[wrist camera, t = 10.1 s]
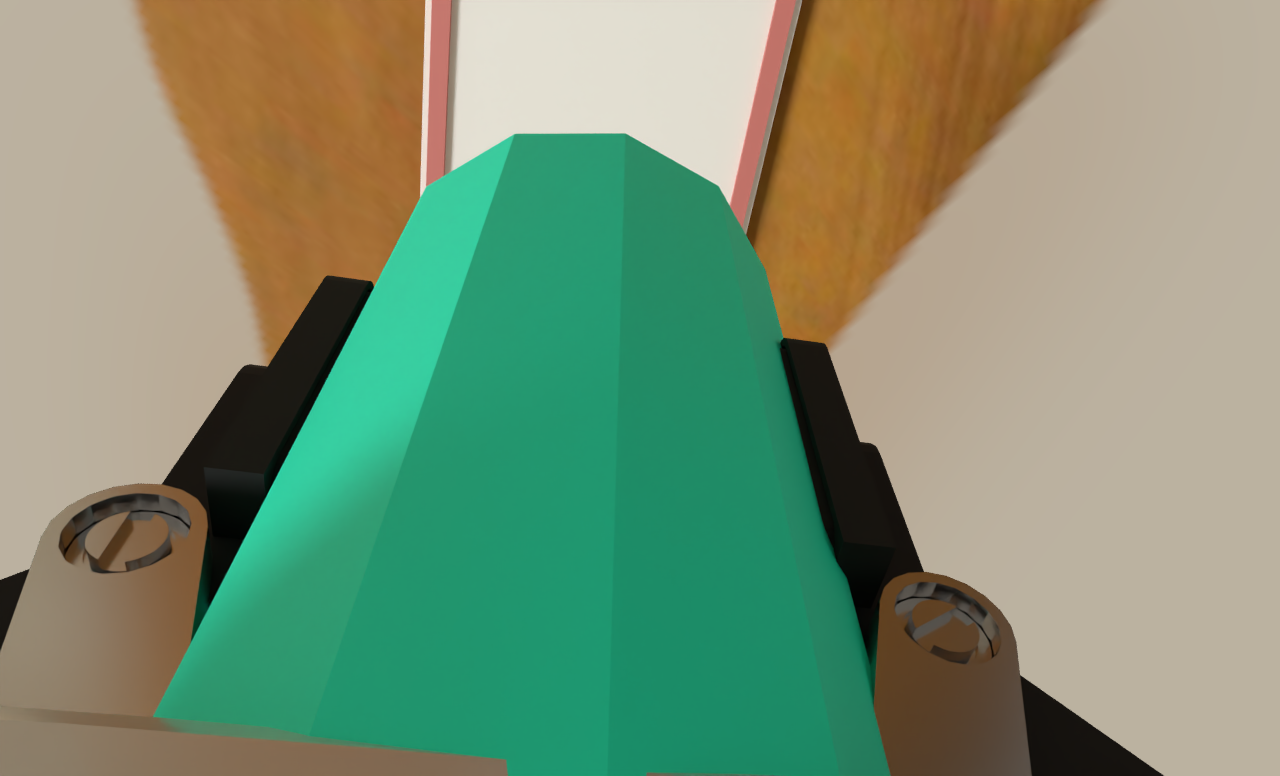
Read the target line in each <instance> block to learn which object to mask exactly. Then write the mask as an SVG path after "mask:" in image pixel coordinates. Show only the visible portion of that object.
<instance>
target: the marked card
mask: <svg viewBox="0 0 1280 776" xmlns="http://www.w3.org/2000/svg"><path fill="white" fill-rule="evenodd" d="M801 3H802V0H426V3H425V39H424V76H423V113H422V150H421V186H420V198H421V196H422V194H423V192H424V190H425V188H426V186H428V185H430V184H431V183H433V182H435V181H436V180H438V179H440V178H441V177H443V176H445V175H446V174H448V173H450V172H451V171H453V170H455V169H456V168H458V167H460V166H461V165H463V164H465V163H467V162H468V161H470V160H472V159H473V158H475V157H477V156H478V155H480V154H482V153H483V152H485V151H487V150H488V149H490V148H492V147H493V146H495V145H497V144H498V143H500V142H502V141H503V140H505V139H507V138H508V137H510V136H512V135H513V134H568V133H626V134H628V135H629V136H631V137H633V138H635V139H636V140H638V141H640V142H642V143H643V144H645V145H647V146H649V147H651V148H652V149H654V150H656V151H658V152H659V153H661V154H663V155H665V156H666V157H668V158H670V159H672V160H674V161H675V162H677V163H679V164H681V165H682V166H684V167H686V168H688V169H689V170H691V171H693V172H695V173H697V174H698V175H700V176H702V177H704V178H705V179H707V180H709V181H711V182H712V183H714V184H716V185H718V186H719V187H720V189H721V191H722V193H723V195H724V196H725V198H726V200H727V202H728V204H729V205H730V207H731V209H732V211H733V213H734V214H735V216H736V218H737V220H738V222H739V223H740V225H741V227H742V229H743V231H744V232H745V234H746V233H747V228H748V224H749V220H750V216H751V212H752V208H753V203H754V199H755V195H756V191H757V187H758V183H759V178H760V174H761V170H762V166H763V162H764V157H765V153H766V149H767V145H768V141H769V137H770V132H771V128H772V124H773V120H774V116H775V112H776V107H777V103H778V99H779V95H780V91H781V87H782V82H783V78H784V74H785V70H786V66H787V62H788V57H789V53H790V49H791V45H792V41H793V37H794V32H795V28H796V24H797V20H798V16H799V12H800V7H801Z"/></svg>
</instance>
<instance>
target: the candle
mask: <svg viewBox="0 0 1280 776" xmlns="http://www.w3.org/2000/svg"><path fill="white" fill-rule="evenodd" d="M782 339H783V335H782V331H781V328H780V324H779V320H778V316H777V312H776V309H775V305H774V301H773V297H772V294H771V290H770V286H769V282H768V278H767V275H766V271H765V268H764V267H763V265H762V263H761V261H760V259H759V258H758V256H757V254H756V252H755V250H754V249H753V247H752V245H751V243H750V241H749V240H748V238H747V236H746V234H745V232H744V231H743V229H742V227H741V225H740V223H739V222H738V220H737V218H736V216H735V214H734V213H733V211H732V209H731V207H730V205H729V204H728V202H727V200H726V198H725V196H724V195H723V193H722V191H721V189H720V187H719V186H718V185H716V184H714V183H712V182H711V181H709V180H707V179H705V178H704V177H702V176H700V175H698V174H697V173H695V172H693V171H691V170H689V169H688V168H686V167H684V166H682V165H681V164H679V163H677V162H675V161H674V160H672V159H670V158H668V157H666V156H665V155H663V154H661V153H659V152H658V151H656V150H654V149H652V148H651V147H649V146H647V145H645V144H643V143H642V142H640V141H638V140H636V139H635V138H633V137H631V136H629V135H628V134H626V133H568V134H513V135H512V136H510V137H508V138H507V139H505V140H503V141H502V142H500V143H498V144H497V145H495V146H493V147H492V148H490V149H488V150H487V151H485V152H483V153H482V154H480V155H478V156H477V157H475V158H473V159H472V160H470V161H468V162H467V163H465V164H463V165H461V166H460V167H458V168H456V169H455V170H453V171H451V172H450V173H448V174H446V175H445V176H443V177H441V178H440V179H438V180H436V181H435V182H433V183H431V184H430V185H428V186H426V188H425V190H424V192H423V194H422V196H421V198H420V200H419V201H418V203H417V205H416V207H415V209H414V211H413V213H412V215H411V217H410V219H409V221H408V223H407V225H406V227H405V229H404V231H403V233H402V234H401V236H400V238H399V240H398V242H397V244H396V246H395V248H394V250H393V252H392V254H391V256H390V258H389V260H388V262H387V264H386V265H385V267H384V269H383V271H382V273H381V275H380V277H379V279H378V281H377V283H376V285H375V287H374V289H373V291H372V293H371V295H370V297H369V298H368V300H367V302H366V304H365V306H364V308H363V310H362V312H361V314H360V316H359V318H358V320H357V322H356V324H355V326H354V328H353V329H352V331H351V333H350V335H349V337H348V339H347V341H346V343H345V345H344V347H343V349H342V351H341V353H340V355H339V357H338V359H337V361H336V362H335V364H334V366H333V368H332V370H331V372H330V374H329V376H328V378H327V380H326V382H325V384H324V386H323V388H322V390H321V392H320V394H319V395H318V397H317V399H316V401H315V403H314V405H313V407H312V409H311V411H310V413H309V415H308V417H307V419H306V421H305V423H304V425H303V426H302V428H301V430H300V432H299V434H298V436H297V438H296V440H295V442H294V444H293V446H292V448H291V450H290V452H289V454H288V456H287V458H286V459H285V461H284V463H283V465H282V467H281V469H280V471H279V473H278V475H277V477H276V479H275V481H274V483H273V485H272V487H271V489H270V490H269V492H268V494H267V496H266V498H265V500H264V502H263V504H262V506H261V508H260V510H259V512H258V514H257V516H256V518H255V520H254V522H253V523H252V525H251V527H250V529H249V531H248V533H247V535H246V537H245V539H244V541H243V543H242V545H241V547H240V549H239V551H238V553H237V554H236V556H235V558H234V560H233V562H232V564H231V566H230V568H229V570H228V572H227V574H226V576H225V578H224V580H223V582H222V584H221V586H220V587H219V589H218V591H217V593H216V595H215V597H214V599H213V601H212V603H211V605H210V607H209V609H208V611H207V613H206V615H205V617H204V618H203V620H202V622H201V624H200V626H199V628H198V630H197V632H196V634H195V636H194V638H193V640H192V642H191V644H190V646H189V648H188V650H187V651H186V653H185V655H184V657H183V659H182V661H181V663H180V665H179V667H178V669H177V671H176V673H175V675H174V677H173V679H172V681H171V682H170V684H169V686H168V688H167V690H166V692H165V694H164V696H163V698H162V700H161V702H160V704H159V706H158V708H157V710H156V712H155V714H154V715H153V717H159V718H170V719H182V720H194V721H205V722H217V723H228V724H240V725H251V726H263V727H270V728H275V729H280V730H284V731H289V732H294V733H298V734H303V735H307V736H312V737H320V738H328V739H337V740H345V741H353V742H361V743H370V744H378V745H387V746H395V747H403V748H412V749H420V750H428V751H436V752H445V753H453V754H462V755H470V756H479V757H487V758H496V759H505V760H506V763H507V773H508V776H647V773H706V774H752V775H775V776H891V775H890V771H889V767H888V763H887V760H886V756H885V752H884V748H883V744H882V740H881V736H880V732H879V728H878V724H877V720H876V716H875V712H874V707H873V695H872V683H871V671H870V663H869V660H868V656H867V652H866V648H865V645H864V641H863V637H862V633H861V629H860V626H859V622H858V618H857V614H856V611H855V607H854V603H853V599H852V595H851V592H850V588H849V584H848V580H847V578H846V576H845V574H844V573H843V571H842V570H841V568H840V566H839V565H838V563H837V562H836V558H835V554H834V549H833V547H832V545H831V543H830V540H829V538H828V536H827V533H826V531H825V528H824V525H823V522H822V518H821V514H820V510H819V506H818V502H817V498H816V494H815V490H814V486H813V482H812V478H811V474H810V470H809V466H808V462H807V458H806V454H805V450H804V446H803V442H802V437H801V433H800V429H799V425H798V421H797V417H796V413H795V409H794V405H793V401H792V397H791V393H790V389H789V385H788V381H787V377H786V373H785V369H784V365H783V361H782V357H781V353H780V348H782V347H781V344H780V342H781V340H782Z"/></svg>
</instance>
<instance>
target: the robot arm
mask: <svg viewBox="0 0 1280 776" xmlns="http://www.w3.org/2000/svg"><path fill="white" fill-rule="evenodd" d="M373 289H374V286H373V283H372V281H365V280H358V279H351V278H343V277H336V276H326V277H325V278H324V279H323V281H322V283H321V284H320V286H319V287H318V289H317V290H316V292H315V294H314V295H313V297H312V298H311V300H310V301H309V303H308V305H307V306H306V308H305V309H304V311H303V312H302V314H301V315H300V317H299V319H298V320H297V322H296V323H295V325H294V326H293V328H292V330H291V331H290V333H289V334H288V336H287V337H286V339H285V341H284V342H283V344H282V345H281V347H280V348H279V350H278V351H277V353H276V355H275V356H274V358H273V359H272V361H271V362H270V364H269V366H268V367H266V366H258V365H246V366H244V367H243V368H242V369H241V370H240V371H239V372H238V373H237V375H236V376H235V378H234V379H233V381H232V382H231V384H230V385H229V387H228V388H227V390H226V391H225V393H224V394H223V395H222V397H221V398H220V400H219V401H218V403H217V404H216V406H215V407H214V409H213V410H212V412H211V413H210V414H209V416H208V417H207V419H206V420H205V422H204V423H203V425H202V426H201V428H200V429H199V431H198V432H197V433H196V435H195V436H194V438H193V439H192V441H191V442H190V444H189V445H188V447H187V448H186V450H185V451H184V452H183V454H182V455H181V457H180V458H179V460H178V461H177V463H176V464H175V466H174V467H173V469H172V470H171V472H170V473H169V474H168V476H167V478H166V479H165V480H164V482H163V483H162V484H161V485H160V484H132V485H124V486H118V487H112V488H109V489H106V490H103V491H99V492H96V493H93V494H90V495H88V496H86V497H84V498H82V499H80V500H78V501H77V502H75V503H73V504H71V505H69V506H67V507H66V508H65V509H64V510H63V511H62V512H60V513H59V514H58V515H57V516H56V517H55V518H53V519H52V520H51V522H50V523H49V525H48V527H47V528H46V530H45V531H44V533H43V535H42V536H41V539H40V541H39V544H38V547H37V550H36V553H35V555H34V558H33V561H32V564H31V567H30V569H28V570H25V571H23V572H20V573H17V574H15V575H12V576H9V577H7V578H4V579H2V580H0V776H508V773H507V763H506V760H505V759H496V758H487V757H479V756H470V755H462V754H453V753H445V752H436V751H428V750H420V749H412V748H403V747H395V746H387V745H378V744H370V743H361V742H353V741H345V740H337V739H328V738H320V737H312V736H307V735H303V734H298V733H294V732H289V731H284V730H280V729H275V728H270V727H263V726H251V725H240V724H228V723H217V722H205V721H194V720H182V719H170V718H159V717H153V715H154V714H155V712H156V710H157V708H158V706H159V704H160V702H161V700H162V698H163V696H164V694H165V692H166V690H167V688H168V686H169V684H170V682H171V681H172V679H173V677H174V675H175V673H176V671H177V669H178V667H179V665H180V663H181V661H182V659H183V657H184V655H185V653H186V651H187V650H188V648H189V646H190V644H191V642H192V640H193V638H194V636H195V634H196V632H197V630H198V628H199V626H200V624H201V622H202V620H203V618H204V617H205V615H206V613H207V611H208V609H209V607H210V605H211V603H212V601H213V599H214V597H215V595H216V593H217V591H218V589H219V587H220V586H221V584H222V582H223V580H224V578H225V576H226V574H227V572H228V570H229V568H230V566H231V564H232V562H233V560H234V558H235V556H236V554H237V553H238V551H239V549H240V547H241V545H242V543H243V541H244V539H245V537H246V535H247V533H248V531H249V529H250V527H251V525H252V523H253V522H254V520H255V518H256V516H257V514H258V512H259V510H260V508H261V506H262V504H263V502H264V500H265V498H266V496H267V494H268V492H269V490H270V489H271V487H272V485H273V483H274V481H275V479H276V477H277V475H278V473H279V471H280V469H281V467H282V465H283V463H284V461H285V459H286V458H287V456H288V454H289V452H290V450H291V448H292V446H293V444H294V442H295V440H296V438H297V436H298V434H299V432H300V430H301V428H302V426H303V425H304V423H305V421H306V419H307V417H308V415H309V413H310V411H311V409H312V407H313V405H314V403H315V401H316V399H317V397H318V395H319V394H320V392H321V390H322V388H323V386H324V384H325V382H326V380H327V378H328V376H329V374H330V372H331V370H332V368H333V366H334V364H335V362H336V361H337V359H338V357H339V355H340V353H341V351H342V349H343V347H344V345H345V343H346V341H347V339H348V337H349V335H350V333H351V331H352V329H353V328H354V326H355V324H356V322H357V320H358V318H359V316H360V314H361V312H362V310H363V308H364V306H365V304H366V302H367V300H368V298H369V297H370V295H371V293H372V291H373ZM780 344H781V347H782V348H780V353H781V357H782V361H783V365H784V369H785V373H786V377H787V381H788V385H789V389H790V393H791V397H792V401H793V405H794V409H795V413H796V417H797V421H798V425H799V429H800V433H801V437H802V442H803V446H804V450H805V454H806V458H807V462H808V466H809V470H810V474H811V478H812V482H813V486H814V490H815V494H816V498H817V502H818V506H819V510H820V514H821V518H822V522H823V525H824V528H825V531H826V533H827V536H828V538H829V540H830V543H831V545H832V547H833V549H834V554H835V558H836V562H837V563H838V565H839V566H840V568H841V570H842V571H843V573H844V574H845V576H846V578H847V580H848V584H849V588H850V592H851V595H852V599H853V603H854V607H855V611H856V614H857V618H858V622H859V626H860V629H861V633H862V637H863V641H864V645H865V648H866V652H867V656H868V660H869V663H870V671H871V683H872V695H873V707H874V712H875V716H876V720H877V724H878V728H879V732H880V736H881V740H882V744H883V748H884V752H885V756H886V760H887V763H888V767H889V771H890V775H891V776H1163V775H1162V774H1161V773H1159V772H1158V771H1156V770H1155V769H1154V768H1152V767H1150V766H1149V765H1148V764H1146V763H1145V762H1143V761H1142V760H1141V759H1139V758H1138V757H1136V756H1135V755H1134V754H1132V753H1131V752H1129V751H1128V750H1126V749H1125V748H1123V747H1122V746H1121V745H1119V744H1118V743H1116V742H1115V741H1113V740H1112V739H1110V738H1109V737H1108V736H1106V735H1105V734H1103V733H1102V732H1101V731H1099V730H1098V729H1096V728H1095V727H1093V726H1092V725H1091V724H1089V723H1088V722H1086V721H1085V720H1084V719H1082V718H1081V717H1079V716H1078V715H1076V714H1075V713H1074V712H1072V711H1070V710H1069V709H1068V708H1066V707H1065V706H1064V705H1062V704H1061V703H1059V702H1058V701H1056V700H1055V699H1053V698H1052V697H1051V696H1049V695H1048V694H1046V693H1045V692H1043V691H1042V690H1041V689H1039V688H1038V687H1036V686H1035V685H1033V684H1032V683H1031V682H1029V681H1028V680H1026V679H1025V678H1024V677H1022V676H1021V675H1020V671H1019V662H1018V653H1017V645H1016V640H1015V637H1014V634H1013V630H1012V627H1011V625H1010V624H1009V623H1008V621H1007V619H1006V618H1005V617H1004V615H1003V614H1002V612H1001V611H1000V610H999V609H998V608H997V607H996V606H995V605H994V604H993V603H992V602H991V601H990V600H989V599H988V598H987V597H985V596H984V595H983V594H981V593H980V592H978V591H976V590H975V589H973V588H972V587H970V586H968V585H967V584H965V583H962V582H960V581H957V580H955V579H953V578H950V577H947V576H944V575H939V574H934V573H929V572H924V571H923V568H922V566H921V563H920V560H919V557H918V555H917V552H916V549H915V547H914V544H913V541H912V539H911V536H910V534H909V531H908V528H907V525H906V522H905V520H904V517H903V514H902V512H901V509H900V506H899V504H898V501H897V498H896V495H895V493H894V490H893V487H892V485H891V482H890V480H889V477H888V474H887V471H886V469H885V466H884V463H883V460H882V458H881V455H880V453H879V451H878V449H877V447H876V446H875V445H873V444H871V443H864V442H860V441H859V438H858V435H857V433H856V430H855V427H854V424H853V421H852V418H851V415H850V412H849V409H848V406H847V404H846V401H845V398H844V395H843V392H842V389H841V386H840V383H839V381H838V378H837V375H836V372H835V369H834V366H833V363H832V360H831V357H830V355H829V352H828V349H827V347H826V345H825V344H824V343H818V342H811V341H803V340H796V339H789V338H783V339H782V340H781V342H780ZM647 776H775V775H752V774H706V773H647Z"/></svg>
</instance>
